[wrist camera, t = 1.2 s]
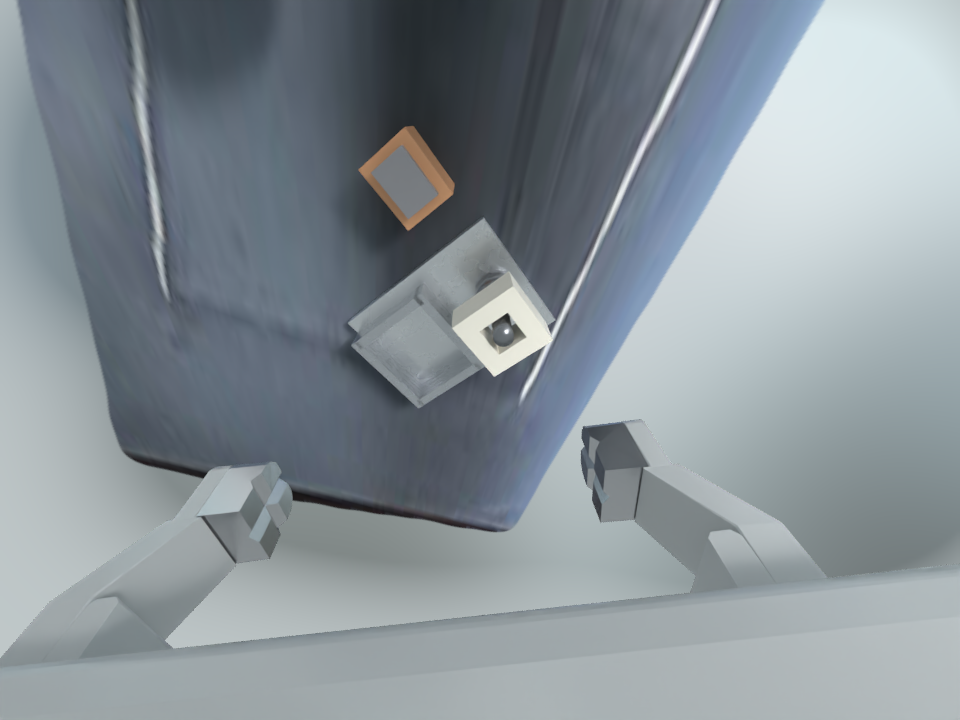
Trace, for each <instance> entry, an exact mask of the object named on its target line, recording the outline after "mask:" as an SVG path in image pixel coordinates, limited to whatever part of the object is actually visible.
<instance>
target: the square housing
mask: <svg viewBox="0 0 960 720" xmlns="http://www.w3.org/2000/svg"><path fill="white" fill-rule="evenodd" d="M506 313H508V314H509V315H510V316H511V317H512V319H513V320H514V321H515V324H514V325H512V329H513V333H514V340H513V342H512V343H511V344H510V345H509V346H506V347H501V346H498V345H497V344H495V342H494V340H493V332H492V330H491V329H490V328H489V327H488V325H490V324H491V323H493V322H494V321H496V320H497V319H499V318H500V317H502V316H503V315H505V314H506ZM452 329H453V330H454V331H455V333H456V334H457V335H458V336H459V337H460V338H461V339H462V341H463V342H464V343H465V344H466V345H467V346H468V347H469V348H470V350H471V351H472V352H473V353H474V354H475V355H476V356H477V358H478V359H479V360H480V361H481V362H482V363H483V364H484V365H485V367H486V368H487V369H488V370H489V371H490V372H491V373H492V375H493V376H494V377H495V376H496V375H498V374H500V373H501V372H503V371H504V370H506V369H508V368H509V367H511V366H512V365H514V364H516V363H517V362H519V361H521V360H522V359H524V358H525V357H527V356H529V355H530V354H532V353H534V352H535V351H537V350H538V349H540V348H542V347H543V346H545V345H547V344H548V343H550V342H551V341H553V339H552V336H551V334H550V331H549V329H548V326H547V324H546V322H545V320H544V319H543V318H542V316H541V315H540V313H539V312H538V311H537V309H536V308H535V306H534V305H533V304H532V302H531V301H530V300H529V298H528V297H527V295H526V294H525V293H524V291H523V290H522V288H521V287H520V286H519V284H518V283H517V282H516V280H515V279H514V277H513V276H512V275H511V273H510V272H509V271H508V272H507V273H506V274H504V275H503V276H501V277H500V278H498V279H497V280H496V281H494V282H493V283H491V284H490V285H489V286H487V287H486V288H484V289H483V290H481V291H480V292H479V293H477V294H476V295H474V296H473V297H472V298H470V299H469V300H467V301H466V302H464V303H463V304H462V305H460V306H459V307H457V308H456V309H455V310H453V316H452Z"/></svg>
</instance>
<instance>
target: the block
mask: <svg viewBox="0 0 960 720" xmlns="http://www.w3.org/2000/svg"><path fill="white" fill-rule="evenodd" d="M359 172H360V173H361V174H362V175H363V176H364V178H365V179H366V180H367V181H368V182H369V184H370V185H371V186H372V187H373V189H374V190H375V191H376V192H377V193H378V195H379V196H380V197H381V198H382V200H383V201H384V202H385V203H386V204H387V206H388V207H389V208H390V209H391V210H392V212H393V213H394V214H395V215H396V217H397V218H398V219H399V220H400V221H401V223H402V224H403V225H404V226H405V228H406V229H407V230H408V231H409V230H410V229H411V228H413V227H414V226H415V225H416V224H417V223H419V222H420V221H421V220H422V219H424V218H425V217H426V216H427V215H428V214H430V213H431V212H432V211H433V210H435V209H436V208H437V207H438V206H439V205H441V204H442V203H443V202H444V201H446V200H447V199H448V198H449V197H450V196H452V195H453V192H454V186H455V184H454V182H453V181H452V180H451V178H450V177H449V175H448V174H447V172H446V171H445V170H444V168H443V167H442V165H441V164H440V163H439V161H438V160H437V158H436V157H435V156H434V154H433V153H432V151H431V150H430V149H429V147H428V146H427V144H426V143H425V142H424V140H423V139H422V137H421V136H420V134H419V133H418V132H417V130H416V129H415V127H414V126H408V127H404V128H403V129H402V130H401V131H400V132H399V133H397V134H396V135H395V136H394V137H393V138H392V139H391V140H390V141H389V142H388V143H387V144H386V145H385V146H383V147H382V148H381V149H380V150H379V151H378V152H377V153H376V154H375V155H374V156H373V157H372V158H371V159H369V160H368V161H367V162H366V163H365V164H364V165H363V166H362V167H361V168H360V169H359Z"/></svg>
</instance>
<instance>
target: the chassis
mask: <svg viewBox="0 0 960 720" xmlns="http://www.w3.org/2000/svg"><path fill="white" fill-rule="evenodd" d="M508 271H509V272H510V273H511V275H512V276H513V277H514V279H515V280H516V282H517V283H518V284H519V286H520V287H521V288H522V290H523V291H524V293H525V294H526V295H527V297H528V298H529V300H530V301H531V302H532V304H533V305H534V306H535V308H536V309H537V311H538V312H539V313H540V315H541V316H542V318H543V319H544V320H545V322H546V324H547V325H549V324H550V323H552V322H554V321H555V318H554V316H553V314H552V313H551V311H550V310H549V309H548V307H547V306H546V304H545V303H544V301H543V300H542V299H541V297H540V296H539V294H538V293H537V291H536V290H535V289H534V287H533V286H532V284H531V283H530V281H529V280H528V279H527V277H526V276H525V274H524V273H523V271H522V270H521V269H520V267H519V266H518V264H517V263H516V262H515V260H514V259H513V257H512V256H511V254H510V253H509V252H508V250H507V249H506V247H505V246H504V244H503V243H502V242H501V240H500V239H499V237H498V236H497V234H496V233H495V232H494V230H493V229H492V227H491V226H490V224H489V223H488V222H487V220H486V219H485V217H484V216H482V217H481V218H479V219H478V220H477V221H476V222H474V223H473V224H472V225H470V226H469V227H468V228H467V229H465V230H464V231H463V232H461V233H460V234H459V235H458V236H456V237H455V238H454V239H452V240H451V241H450V242H449V243H447V244H446V245H445V246H443V247H442V248H441V249H439V250H438V251H437V252H436V253H434V254H433V255H432V256H430V257H429V258H428V259H427V260H425V261H424V262H423V263H421V264H420V265H419V266H418V267H416V268H415V269H414V270H412V271H411V272H410V273H409V274H407V275H406V276H405V277H403V278H402V279H401V280H399V281H398V282H397V283H396V284H394V285H393V286H392V287H390V288H389V289H388V290H387V291H385V292H384V293H383V294H381V295H380V296H379V297H378V298H376V299H375V300H374V301H372V302H371V303H370V304H369V305H367V306H366V307H365V308H363V309H362V310H361V311H359V312H358V313H357V314H356V315H354V316H353V317H352V318H350V320H349V322H348V324H349V325H350V326H351V327H352V328H353V329H354V330H355V331H356V332H357V334H356V336H355V339H354V341H353V343H352V345H351V346H352V347H353V348H354V349H355V350H356V351H357V352H358V353H359V354H360V355H361V356H363V357H364V358H365V359H366V360H367V361H368V362H369V363H370V364H371V365H372V366H373V367H374V368H375V369H377V370H378V371H379V372H380V373H381V374H382V375H383V376H384V377H385V378H386V379H387V380H388V381H389V382H391V383H392V384H393V385H394V386H395V387H396V388H397V389H398V390H399V391H400V392H401V393H402V394H403V395H405V396H406V397H407V398H408V399H409V400H410V401H411V402H412V403H413V404H414V405H415V406H416V407H417V408H420V407H422V406H423V405H425V404H426V403H428V402H429V401H431V400H433V399H434V398H436V397H437V396H439V395H441V394H442V393H444V392H445V391H447V390H448V389H450V388H452V387H453V386H455V385H456V384H458V383H459V382H461V381H463V380H464V379H466V378H467V377H469V376H471V375H472V374H474V373H475V372H477V371H478V370H480V369H482V368H483V367H485V365H484V364H483V363H482V362H481V361H480V360H479V359H478V358H477V356H476V355H475V354H474V353H473V352H472V351H471V350H470V348H469V347H468V346H467V345H466V344H465V343H464V342H463V341H462V339H461V338H460V337H459V336H458V335H457V334H456V333H455V331H454V330H453V329H452V316H453V310H455V309H456V308H457V307H459V306H460V305H462V304H463V303H464V302H466V301H467V300H469V299H470V298H472V297H473V296H474V295H476V294H477V293H479V292H480V291H481V290H483V289H484V288H486V287H487V286H489V285H490V284H491V283H493V282H494V281H496V280H497V279H498V278H500V277H501V276H503V275H504V274H506V273H507V272H508ZM514 324H515V321H514V320H513V319H512V317H511V316H510V315H509V314H508V313H506V314H505V315H503V316H502V317H500V318H499V319H497V320H496V321H494V322H493V323H491V324H490V325H488V327H489V328H490V329H491V330H492V332H493V340H494V342H495V344H497V345H498V346H501V347H506V346H509V345H510V344H511V343H512V342H513V340H514V333H513V329H512V325H514Z"/></svg>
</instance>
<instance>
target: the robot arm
mask: <svg viewBox="0 0 960 720" xmlns="http://www.w3.org/2000/svg"><path fill="white" fill-rule="evenodd" d="M582 440H583V443H584V445H585V447H584V448H583V449H582V450H581V465H582V471H583V475H584V479H585V482H586V485H587V486H588V487H589V488H590V489H592V490H593V496H592V501H593V504H594V506H595V509H596V512H597V514H598V517H599V520H600V522H612V521H624V520H635V522H636V523H637V524H638V525H639V526H640V527H642V528H643V529H644V530H645V531H646V532H647V533H648V534H649V535H651V536H652V537H653V538H654V539H655V540H656V541H657V542H658V543H659V544H661V545H662V546H663V547H664V548H665V549H666V550H667V551H668V552H670V553H671V554H672V555H673V556H674V557H675V558H676V559H677V560H679V561H680V562H681V563H682V564H683V565H684V566H685V567H686V568H687V569H689V570H690V571H691V572H692V573H693V574H694V575H695V579H694V582H693V586H692V589H691V592H690V593H684V594H675V595H666V596H656V597H647V598H638V599H628V600H619V601H610V602H601V603H591V604H582V605H573V606H564V607H555V608H546V609H536V610H527V611H517V612H509V613H499V614H490V615H481V616H472V617H462V618H453V619H444V620H435V621H426V622H417V623H407V624H398V625H389V626H380V627H370V628H361V629H352V630H343V631H333V632H324V633H315V634H306V635H296V636H288V637H278V638H269V639H259V640H250V641H241V642H232V643H222V644H214V645H204V646H196V647H185V648H176V649H173V648H172V647H171V646H170V645H169V644H168V643H166V641H165V639H166V638H167V637H168V636H169V635H170V634H171V633H172V632H173V631H174V630H175V629H176V628H177V627H178V626H179V625H180V624H181V623H182V621H183V620H184V619H185V618H186V617H187V616H188V615H189V614H190V613H191V612H192V611H193V610H194V609H195V608H196V607H197V606H198V605H199V604H200V603H201V602H202V601H203V600H204V598H205V597H206V596H207V595H208V594H209V593H210V592H211V591H212V590H213V589H214V588H215V587H216V586H217V585H218V584H219V583H220V582H221V581H222V580H223V579H224V578H225V577H226V576H227V575H228V573H229V572H230V571H231V570H232V569H233V568H234V567H235V566H236V563H243V562H250V561H258V560H265V559H270V557H271V555H272V553H273V550H274V548H275V546H276V544H277V542H278V539H279V537H280V532H279V529H278V527H279V526H280V525H282V524H283V523H284V522H285V521H286V520H287V519H288V516H289V514H290V511H291V507H292V499H293V498H292V492H291V489H290V487H289V485H288V483H286V482H285V481H283V480H281V479H280V478H279V477H280V474H281V472H282V471H281V470H280V468H279V466H278V464H277V463H275V462H261V463H250V464H239V465H233V466H220V467H215V468H213V469H211V470H210V471H209V472H208V473H207V475H206V476H205V477H204V479H203V480H202V482H201V483H200V484H199V486H198V487H197V488H196V490H195V491H194V492H193V494H192V495H191V496H190V498H189V499H188V501H187V502H186V503H185V505H184V506H183V507H182V509H181V510H180V511H179V513H178V514H177V516H176V517H175V518H174V519H173V520H167V521H166V522H164V523H163V524H161V525H160V526H158V527H157V528H155V529H154V530H153V531H151V532H150V533H148V534H147V535H145V536H144V537H143V538H141V539H140V540H138V541H137V542H135V543H134V544H132V545H131V546H130V547H128V548H127V549H125V550H124V551H122V552H121V553H119V554H118V555H116V556H115V557H114V558H112V559H111V560H109V561H108V562H106V563H105V564H103V565H102V566H101V567H99V568H98V569H96V570H95V571H93V572H92V573H90V574H89V575H88V576H86V577H85V578H83V579H82V580H80V581H79V582H78V583H76V584H75V585H73V586H72V587H70V588H69V589H68V590H66V591H64V592H63V593H62V594H60V595H59V596H57V597H56V598H54V599H53V600H52V601H50V602H49V603H48V604H47V605H46V606H45V608H44V609H43V610H42V611H41V612H40V613H39V614H38V616H37V617H36V618H35V619H34V620H33V622H31V624H30V625H29V626H28V627H27V628H26V629H25V631H24V632H23V633H22V634H21V635H20V636H19V637H18V639H17V640H16V641H15V642H14V643H13V644H12V645H11V647H10V648H9V649H8V650H7V651H6V652H5V653H4V655H3V656H2V657H1V658H0V720H960V564H952V565H943V566H933V567H924V568H915V569H905V570H896V571H887V572H878V573H869V574H859V575H850V576H842V577H832V578H827V576H826V575H825V574H824V573H823V572H822V570H821V569H820V568H819V567H818V566H817V565H816V563H815V562H814V561H813V560H812V558H811V557H810V556H809V555H808V553H807V552H806V551H805V550H804V549H803V547H802V546H801V545H800V544H799V543H798V541H797V540H796V539H795V538H794V537H793V536H792V534H791V533H790V532H789V531H788V529H787V528H786V527H785V526H784V525H783V523H781V522H780V521H778V520H776V519H774V518H773V517H771V516H769V515H768V514H766V513H764V512H762V511H761V510H759V509H757V508H755V507H754V506H751V505H750V504H748V503H746V502H745V501H743V500H741V499H739V498H738V497H736V496H734V495H732V494H730V493H729V492H727V491H725V490H724V489H722V488H720V487H718V486H717V485H715V484H713V483H711V482H709V481H708V480H706V479H704V478H702V477H700V476H699V475H697V474H695V473H694V472H692V471H690V470H688V469H686V468H685V467H683V466H681V465H679V464H672V463H671V462H670V460H669V459H668V457H667V456H666V454H665V453H664V451H663V449H662V448H661V446H660V445H659V443H658V442H657V440H656V439H655V437H654V436H653V434H652V433H651V431H650V430H649V428H648V427H647V425H646V424H645V422H644V421H643V420H641V419H639V420H630V421H623V422H617V423H608V424H600V425H592V426H584V427H583V429H582Z"/></svg>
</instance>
